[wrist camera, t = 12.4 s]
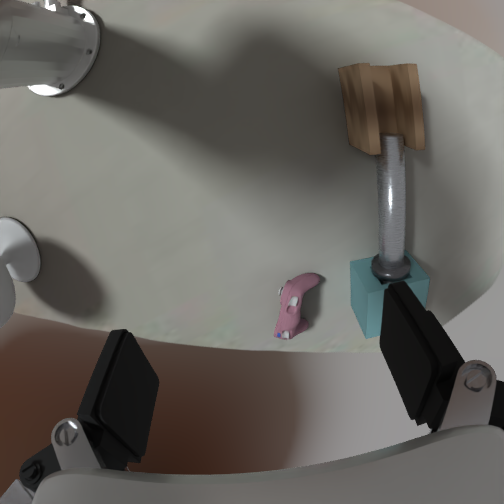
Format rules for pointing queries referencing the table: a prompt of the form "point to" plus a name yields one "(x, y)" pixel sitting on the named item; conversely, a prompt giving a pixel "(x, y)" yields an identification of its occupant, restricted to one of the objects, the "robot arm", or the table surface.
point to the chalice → (15, 262)
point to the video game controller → (293, 305)
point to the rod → (391, 211)
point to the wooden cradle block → (382, 105)
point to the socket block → (379, 293)
